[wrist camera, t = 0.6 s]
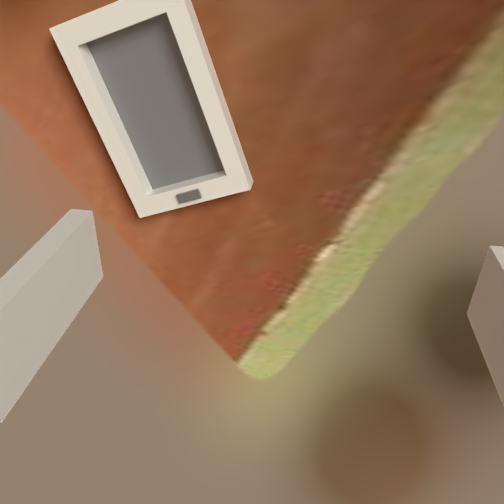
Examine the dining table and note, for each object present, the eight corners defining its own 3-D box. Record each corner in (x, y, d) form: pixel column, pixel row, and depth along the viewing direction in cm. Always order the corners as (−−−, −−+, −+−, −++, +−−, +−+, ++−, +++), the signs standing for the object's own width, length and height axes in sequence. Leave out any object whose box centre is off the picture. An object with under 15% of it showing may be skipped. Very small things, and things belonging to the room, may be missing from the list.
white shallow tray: (60, 26, 37) (46, 29, 35) (182, -23, 34) (174, -23, 32) (146, 209, 44) (138, 219, 42) (253, 181, 41) (249, 191, 39)
